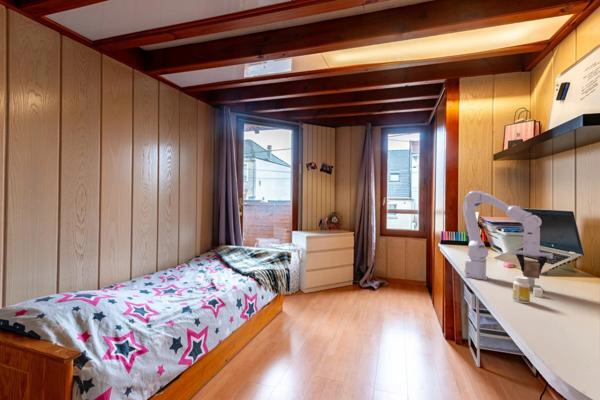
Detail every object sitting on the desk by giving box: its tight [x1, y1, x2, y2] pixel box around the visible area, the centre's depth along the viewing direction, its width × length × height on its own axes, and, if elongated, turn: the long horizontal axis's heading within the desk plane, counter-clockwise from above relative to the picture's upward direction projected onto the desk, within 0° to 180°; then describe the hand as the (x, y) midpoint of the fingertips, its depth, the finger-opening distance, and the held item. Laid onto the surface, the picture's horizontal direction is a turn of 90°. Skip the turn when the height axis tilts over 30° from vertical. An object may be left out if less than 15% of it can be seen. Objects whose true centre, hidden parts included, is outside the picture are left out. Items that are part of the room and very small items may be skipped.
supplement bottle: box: [512, 275, 531, 304], centre depth 113 cm, size 5×5×10 cm
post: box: [527, 277, 545, 294], centre depth 128 cm, size 8×8×6 cm
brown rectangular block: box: [521, 259, 540, 279], centre depth 127 cm, size 5×5×7 cm
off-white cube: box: [532, 287, 544, 298], centre depth 118 cm, size 3×3×3 cm
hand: (530, 272), depth 127 cm, fingers closed on brown rectangular block, 5 cm apart
